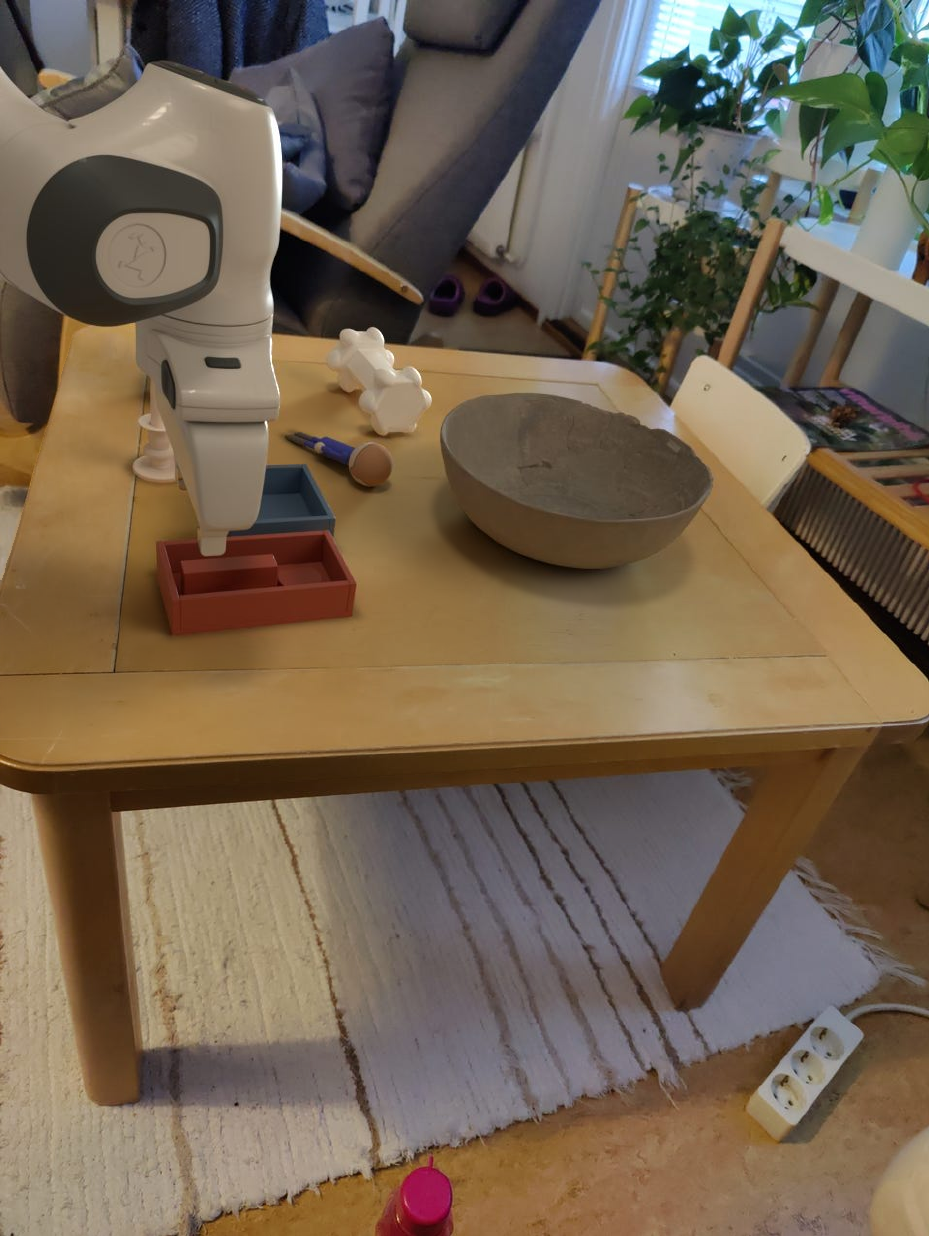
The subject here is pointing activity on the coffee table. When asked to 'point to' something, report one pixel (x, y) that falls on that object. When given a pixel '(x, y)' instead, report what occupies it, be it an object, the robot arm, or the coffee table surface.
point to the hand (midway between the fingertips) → (198, 516)
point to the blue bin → (290, 503)
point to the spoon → (241, 574)
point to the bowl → (570, 479)
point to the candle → (155, 447)
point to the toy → (352, 457)
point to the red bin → (263, 602)
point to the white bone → (378, 381)
